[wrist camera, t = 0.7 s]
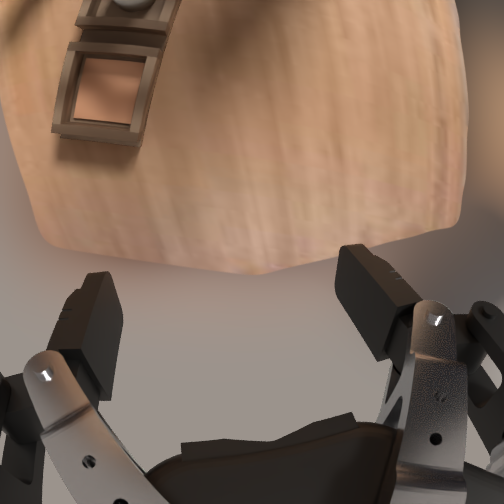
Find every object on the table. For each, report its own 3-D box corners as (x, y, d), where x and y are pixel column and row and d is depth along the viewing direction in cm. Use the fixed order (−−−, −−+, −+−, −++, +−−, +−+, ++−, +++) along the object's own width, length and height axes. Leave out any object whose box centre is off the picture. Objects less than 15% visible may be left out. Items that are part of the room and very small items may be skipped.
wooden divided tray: (116, -44, 19) (94, -85, 9) (196, -37, 22) (201, -84, 12) (64, 136, 29) (19, 155, 20) (141, 145, 32) (120, 166, 22)
